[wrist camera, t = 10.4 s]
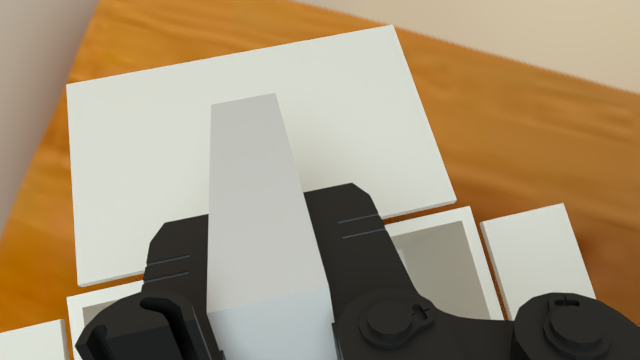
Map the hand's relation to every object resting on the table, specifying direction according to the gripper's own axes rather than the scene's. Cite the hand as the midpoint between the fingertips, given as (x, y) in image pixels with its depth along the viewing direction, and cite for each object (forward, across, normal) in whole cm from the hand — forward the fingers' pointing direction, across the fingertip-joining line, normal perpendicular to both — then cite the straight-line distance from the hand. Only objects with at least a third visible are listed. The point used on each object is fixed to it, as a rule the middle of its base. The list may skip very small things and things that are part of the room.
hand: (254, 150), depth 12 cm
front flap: (+4, 0, -6) cm, 8 cm away
